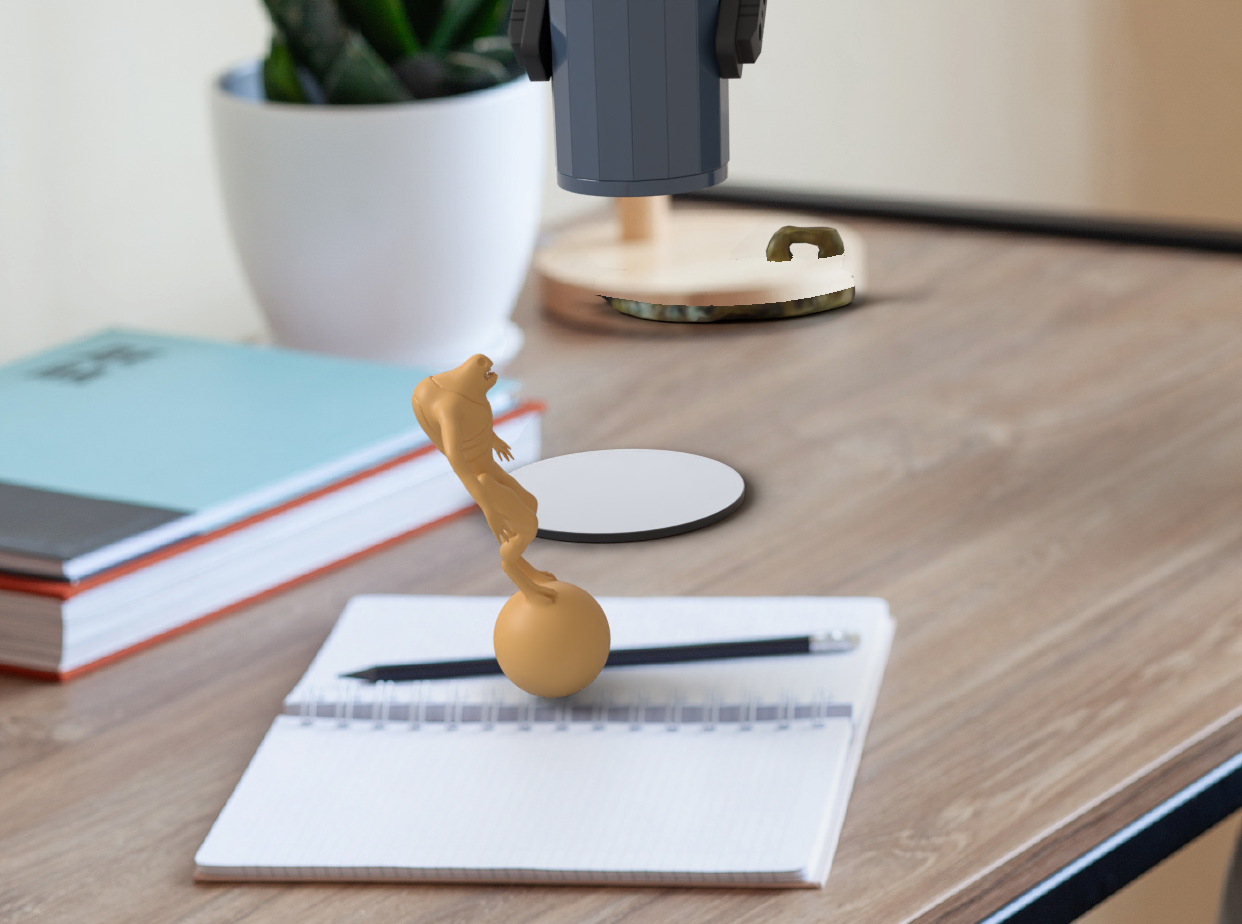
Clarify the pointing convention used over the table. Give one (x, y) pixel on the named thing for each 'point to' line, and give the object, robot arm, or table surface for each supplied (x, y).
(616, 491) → the coaster
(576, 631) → the figurine
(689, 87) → the cup
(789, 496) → the table surface
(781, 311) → the seal
